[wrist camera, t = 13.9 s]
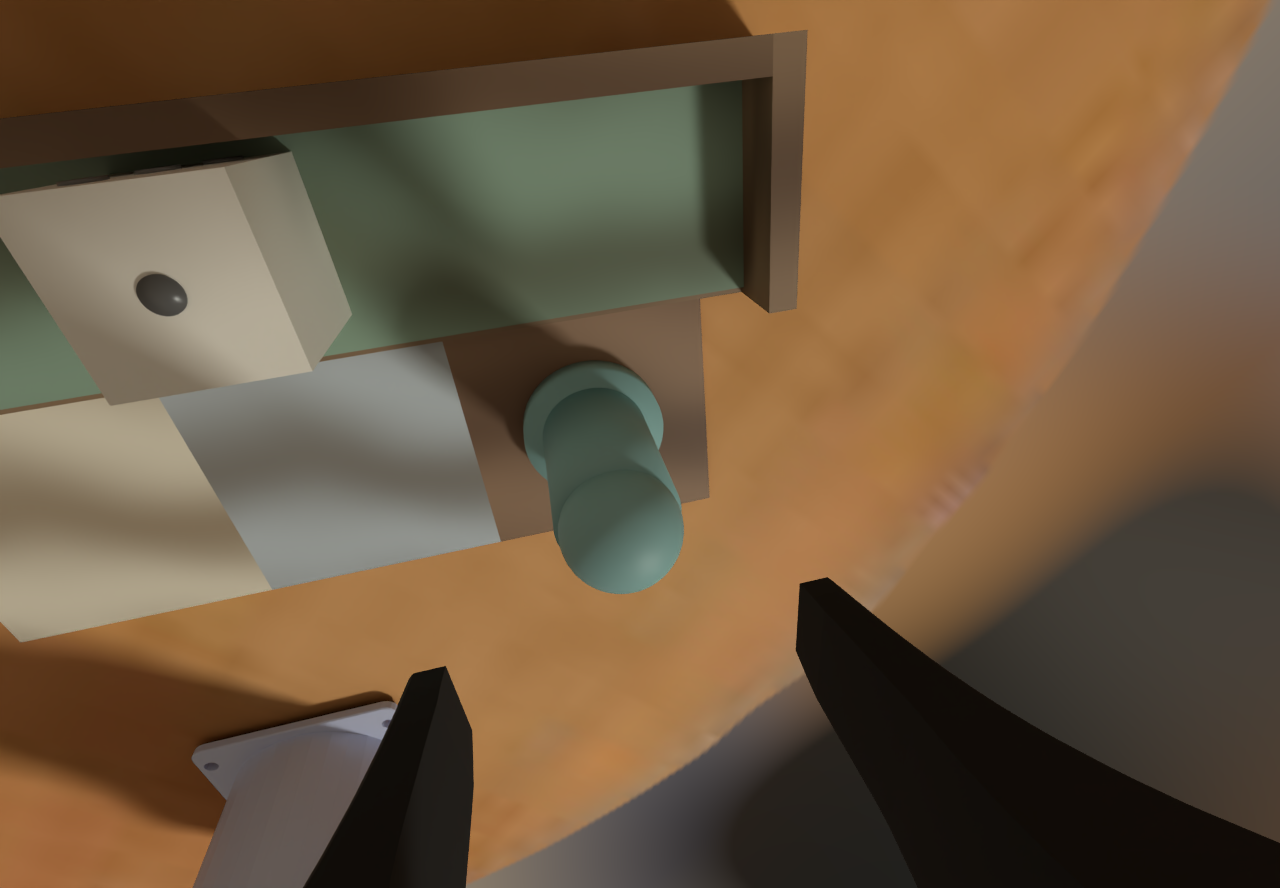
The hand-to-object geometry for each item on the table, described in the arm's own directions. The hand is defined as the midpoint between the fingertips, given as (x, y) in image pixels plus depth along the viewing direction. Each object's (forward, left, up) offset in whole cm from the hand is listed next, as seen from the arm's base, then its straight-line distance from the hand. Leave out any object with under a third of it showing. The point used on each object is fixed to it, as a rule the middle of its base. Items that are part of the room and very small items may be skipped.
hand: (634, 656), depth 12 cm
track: (0, +7, -10) cm, 12 cm away
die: (+7, +7, -9) cm, 14 cm away
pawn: (0, -1, -10) cm, 10 cm away
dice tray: (+7, +5, -10) cm, 14 cm away
